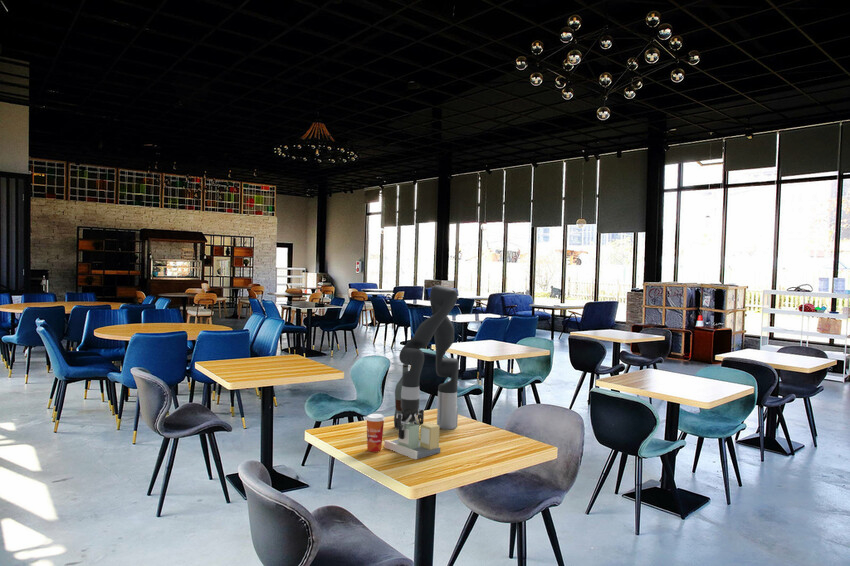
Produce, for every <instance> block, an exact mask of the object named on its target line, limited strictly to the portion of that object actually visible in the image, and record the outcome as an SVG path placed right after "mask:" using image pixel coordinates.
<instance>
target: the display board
mask: <svg viewBox="0 0 850 566" xmlns="http://www.w3.org/2000/svg"><path fill="white" fill-rule="evenodd" d="M384 447H385V449H387V450H389V449H390V450H389V451H392V450H393V451H392V452H394V451H395V452H394V453H396V454H400V455H402V456H405V457H407V456H408V458H411V459H412V460H418V459H422V458H425V457H429V456H432V455H437V454H441V447H440V446H439V448H435V449H432V450H429V449H426V448H423V447H420V439H419V448H415V449H410V448H407V447H404V446H401V445H399V444H398V439H394V440H388V439H384V443H383V448H384ZM436 453H437V454H436Z"/></svg>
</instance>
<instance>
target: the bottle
mask: <svg viewBox="0 0 850 566" xmlns="http://www.w3.org/2000/svg"><path fill="white" fill-rule="evenodd" d="M405 371H409V365H406V364H402V375H401V377H400V379H399V381H398V382H397V383H396V385H395V389H394V397H395V399H394V401H395V404H394V405H395V408H394V409H395V410H394V416H393V424H394V425H393V426H394V429H395V430H397V431H398V429H397V428H395V414H396V413H398V414H400V413H401V412H402V409H401V390H402V377H403V373H404V372H405ZM403 422H405V421H403ZM410 423H413V422H410ZM413 424H414V423H413Z"/></svg>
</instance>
